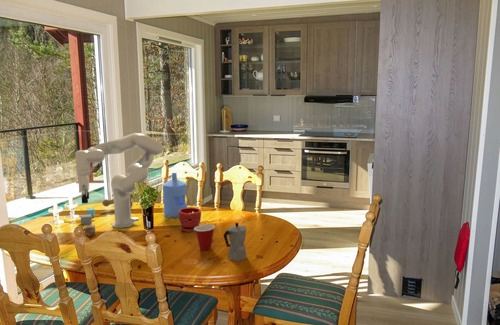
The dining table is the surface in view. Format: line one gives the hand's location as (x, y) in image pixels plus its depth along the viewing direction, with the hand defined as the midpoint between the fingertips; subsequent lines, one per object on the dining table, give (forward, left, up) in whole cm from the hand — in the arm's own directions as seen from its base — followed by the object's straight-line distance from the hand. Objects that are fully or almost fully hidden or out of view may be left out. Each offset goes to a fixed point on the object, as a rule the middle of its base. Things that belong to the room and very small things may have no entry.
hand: (85, 201), depth 238 cm
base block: (+2, -20, -20) cm, 28 cm away
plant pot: (-58, +13, -20) cm, 63 cm away
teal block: (0, -35, -20) cm, 40 cm away
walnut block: (-1, +2, -20) cm, 20 cm away
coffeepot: (-72, +62, -20) cm, 97 cm away
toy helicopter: (-18, -47, -20) cm, 54 cm away
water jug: (-54, -20, -20) cm, 61 cm away
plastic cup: (-60, +45, -20) cm, 78 cm away
